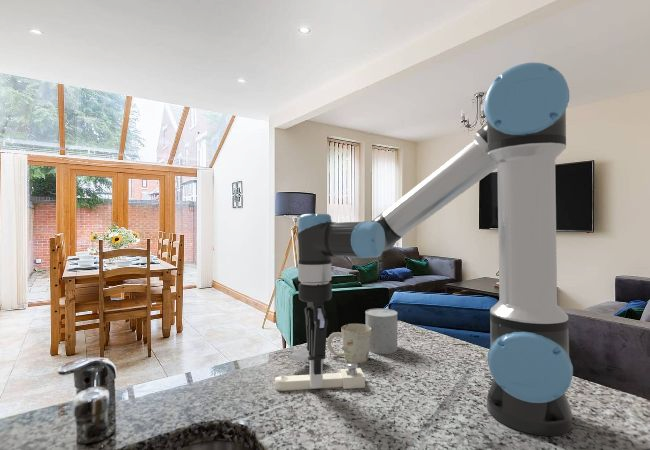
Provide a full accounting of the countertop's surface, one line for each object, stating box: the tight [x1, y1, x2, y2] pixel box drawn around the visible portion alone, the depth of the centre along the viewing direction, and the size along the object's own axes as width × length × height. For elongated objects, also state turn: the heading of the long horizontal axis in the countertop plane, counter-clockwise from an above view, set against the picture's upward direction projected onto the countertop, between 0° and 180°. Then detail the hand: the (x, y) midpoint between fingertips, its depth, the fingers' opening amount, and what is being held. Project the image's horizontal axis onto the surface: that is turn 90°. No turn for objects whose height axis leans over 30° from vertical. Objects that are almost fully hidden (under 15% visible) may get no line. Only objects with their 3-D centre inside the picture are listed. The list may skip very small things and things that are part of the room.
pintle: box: [346, 362, 359, 375], centre depth 86 cm, size 3×3×5 cm
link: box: [274, 367, 366, 392], centre depth 85 cm, size 20×5×2 cm, turn 97°
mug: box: [326, 323, 371, 364], centre depth 102 cm, size 8×13×10 cm, turn 78°
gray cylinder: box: [364, 307, 399, 355], centre depth 109 cm, size 10×10×12 cm
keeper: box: [288, 345, 325, 365], centre depth 96 cm, size 5×8×5 cm, turn 144°
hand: (316, 386), depth 82 cm, fingers closed
